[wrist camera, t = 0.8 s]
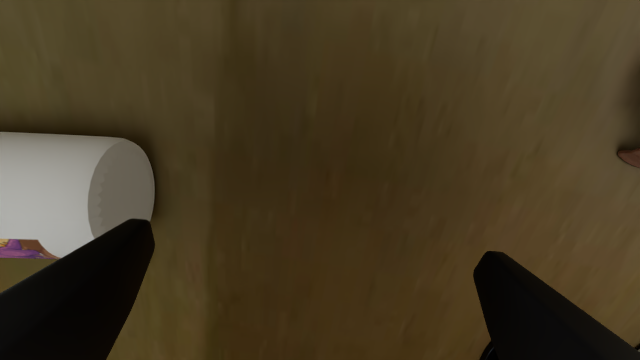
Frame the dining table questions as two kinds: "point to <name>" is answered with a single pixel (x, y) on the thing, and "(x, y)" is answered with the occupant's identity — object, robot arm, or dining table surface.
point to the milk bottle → (68, 191)
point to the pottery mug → (631, 156)
